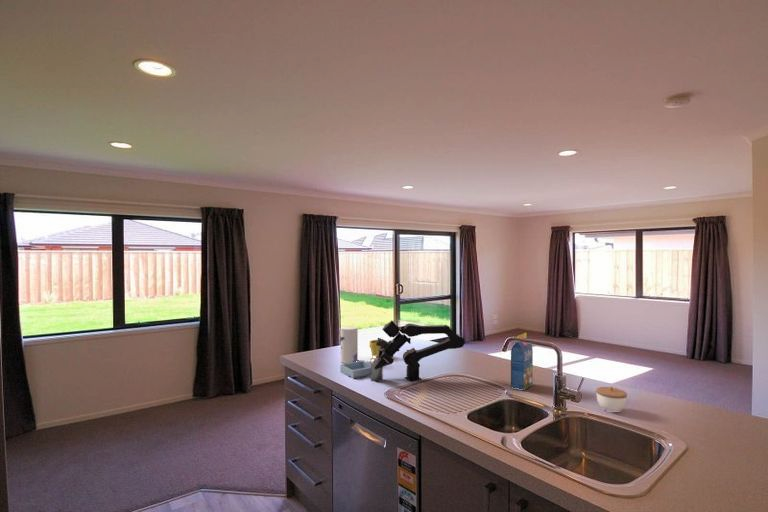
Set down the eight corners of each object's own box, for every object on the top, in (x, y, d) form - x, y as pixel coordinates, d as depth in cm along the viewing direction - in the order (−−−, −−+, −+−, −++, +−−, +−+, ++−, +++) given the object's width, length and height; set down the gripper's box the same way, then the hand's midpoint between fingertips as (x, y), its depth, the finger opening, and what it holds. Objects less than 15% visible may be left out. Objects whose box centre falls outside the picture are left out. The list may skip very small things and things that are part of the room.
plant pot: (386, 359, 234) (386, 343, 234) (369, 359, 234) (369, 343, 234) (386, 355, 244) (386, 339, 244) (370, 355, 245) (370, 339, 245)
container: (338, 360, 233) (338, 326, 233) (354, 358, 237) (354, 325, 237) (343, 364, 224) (343, 329, 224) (360, 362, 228) (360, 328, 228)
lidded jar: (611, 416, 151) (611, 392, 151) (590, 406, 161) (590, 383, 161) (633, 414, 154) (633, 390, 154) (611, 404, 164) (611, 381, 164)
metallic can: (384, 380, 195) (384, 355, 195) (374, 382, 192) (374, 357, 192) (378, 377, 200) (378, 353, 200) (368, 379, 197) (368, 354, 197)
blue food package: (510, 388, 183) (510, 335, 183) (520, 382, 193) (520, 331, 193) (523, 391, 179) (523, 337, 179) (532, 384, 189) (532, 333, 189)
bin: (376, 374, 206) (376, 366, 206) (353, 378, 198) (353, 371, 198) (362, 367, 217) (362, 360, 217) (340, 372, 209) (340, 364, 209)
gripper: (383, 329, 206) (362, 350, 205) (386, 336, 187) (363, 359, 186) (398, 343, 206) (377, 365, 206) (403, 352, 188) (380, 376, 187)
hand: (374, 366), depth 196 cm, fingers open, 9 cm apart
